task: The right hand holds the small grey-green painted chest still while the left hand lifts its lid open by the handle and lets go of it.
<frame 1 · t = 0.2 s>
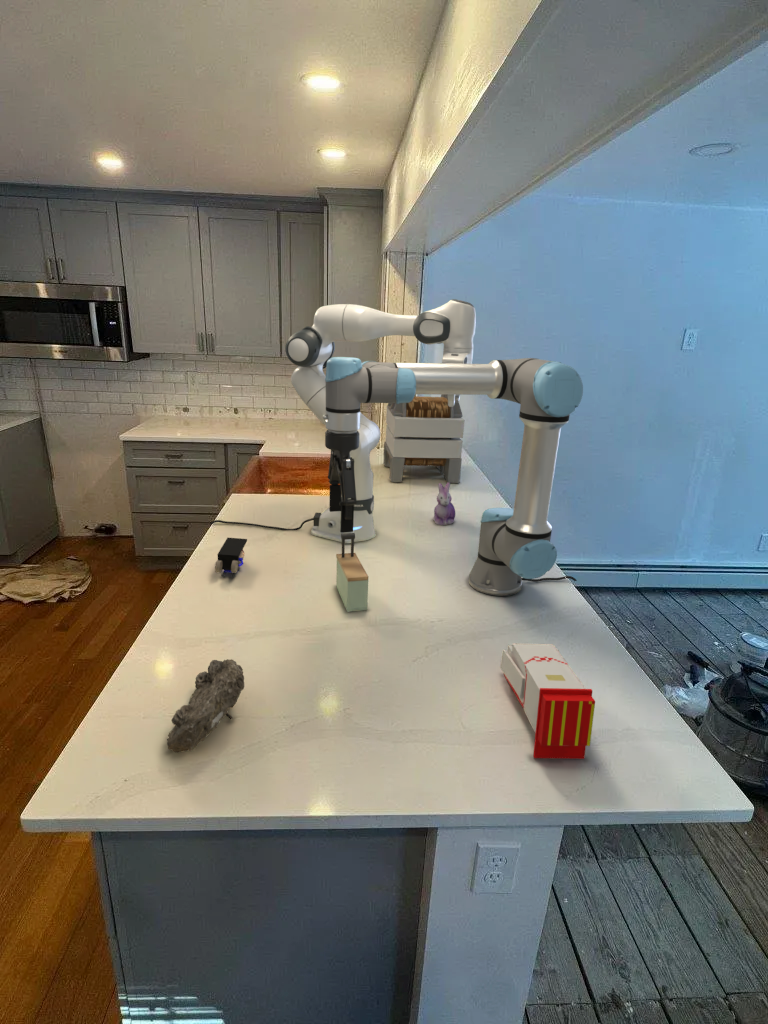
left hand: (453, 404, 174), 48 cm above the counter, tool pointing down, fingers open, 8 cm apart
right hand: (340, 520, 131), 28 cm above the counter, tool pointing down, fingers open, 13 cm apart
toy: (536, 709, 114), on the counter
transformer: (419, 473, 275), on the counter
fossil: (212, 717, 108), on the counter
figurine character: (232, 569, 168), on the counter
figurine: (443, 521, 213), on the counter
chest: (351, 597, 155), on the counter
lid: (351, 554, 151), point 13 cm above the counter, hinge at 0.0°
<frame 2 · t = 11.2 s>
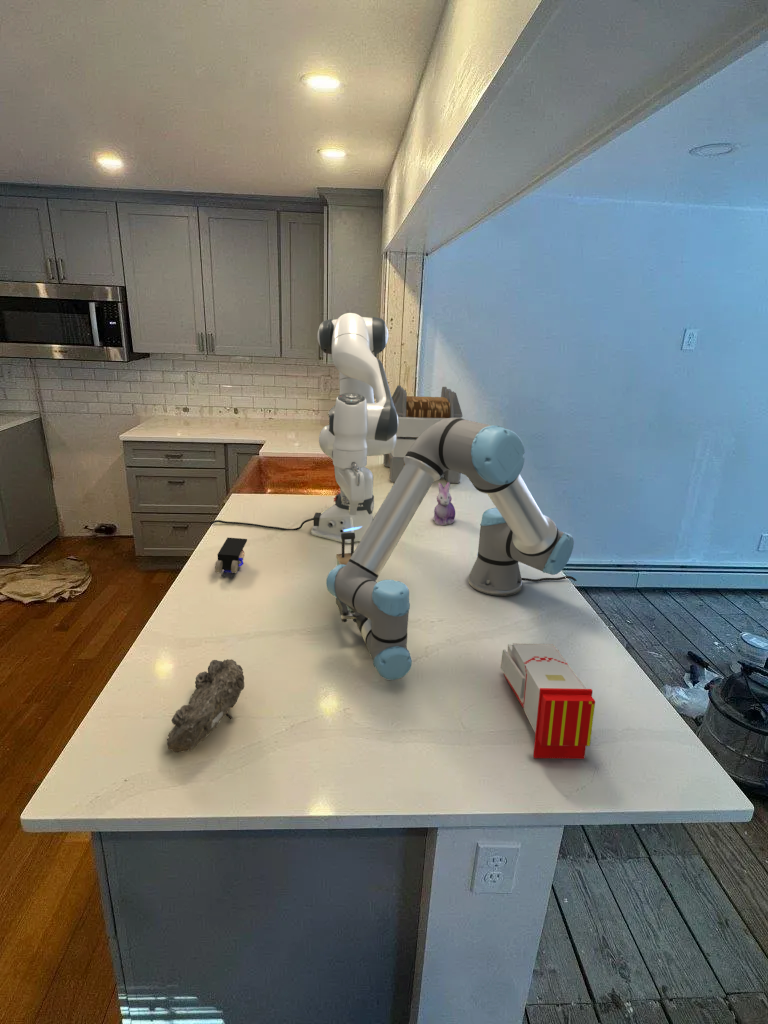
left hand: (348, 508, 152), 24 cm above the counter, tool pointing down, fingers open, 8 cm apart
right hand: (354, 582, 150), 6 cm above the counter, tool horizontal, fingers closed on chest, 5 cm apart
chest: (351, 597, 155), on the counter, touching right hand
everything else where it was.
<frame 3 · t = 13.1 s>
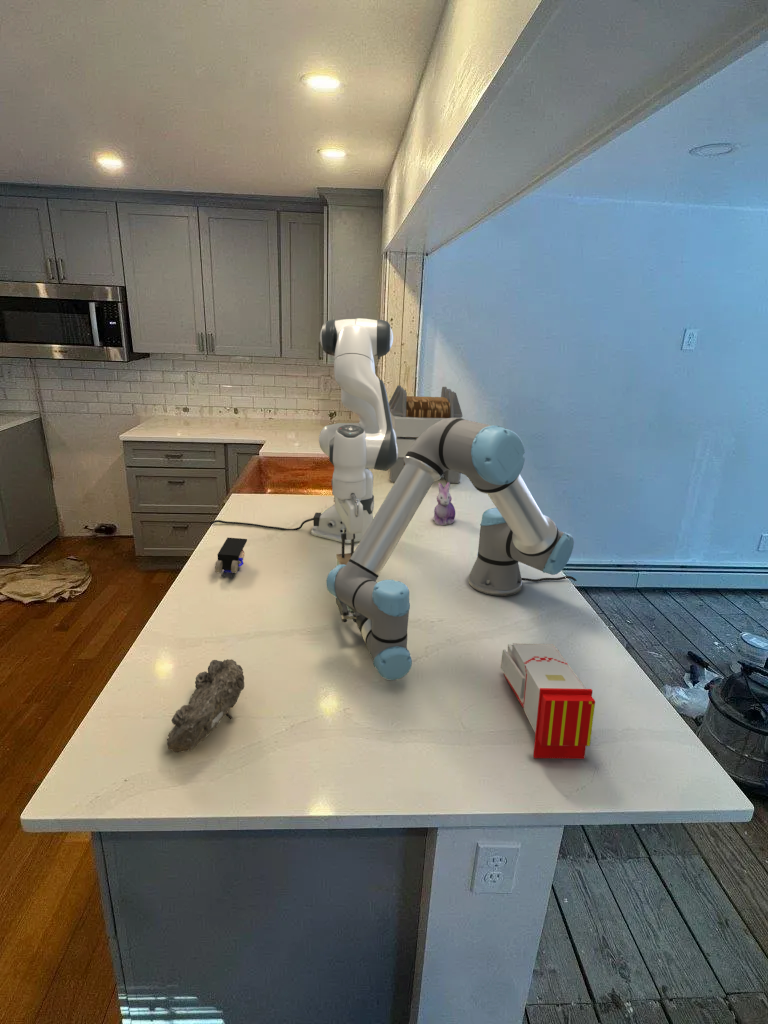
left hand: (347, 536, 154), 16 cm above the counter, tool pointing down, fingers closed on lid, 2 cm apart
right hand: (354, 582, 150), 6 cm above the counter, tool horizontal, fingers closed on chest, 5 cm apart
chest: (351, 597, 155), on the counter, touching right hand
lid: (351, 554, 151), point 13 cm above the counter, hinge at -0.2°, touching left hand
everything else where it was.
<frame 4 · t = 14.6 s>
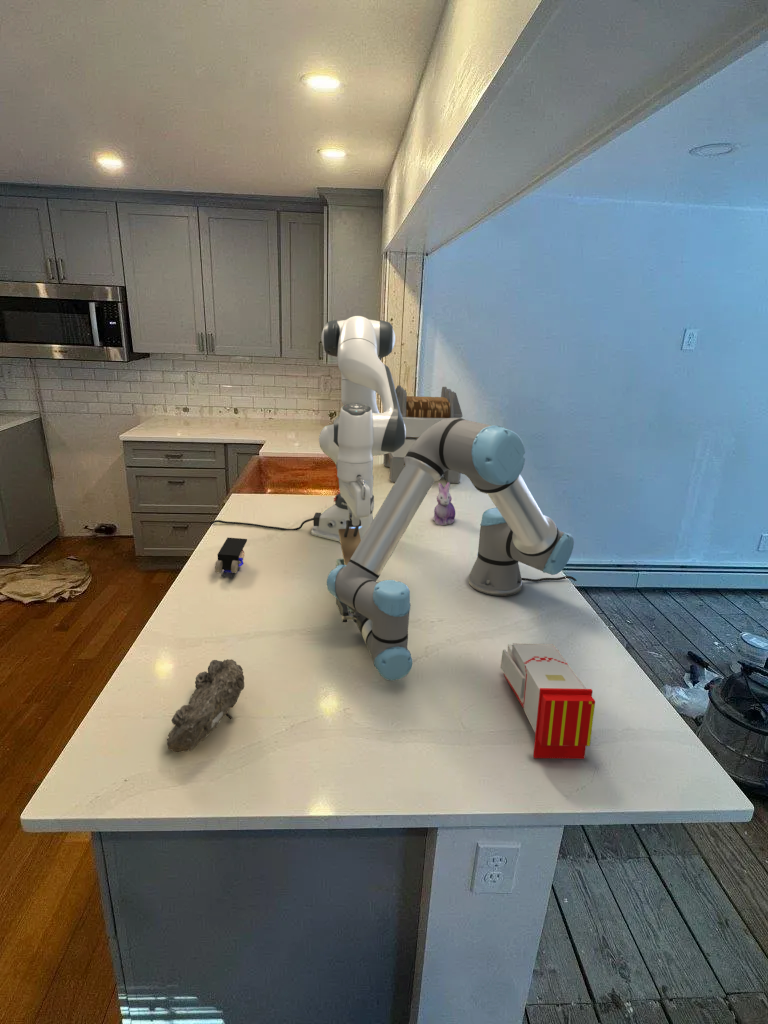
left hand: (353, 522, 146), 23 cm above the counter, tool pointing down, fingers closed
right hand: (354, 582, 150), 6 cm above the counter, tool horizontal, fingers closed on chest, 5 cm apart
chest: (351, 598, 154), on the counter, touching right hand
lid: (355, 546, 146), point 17 cm above the counter, hinge at 35.7°, touching left hand
everything else where it was.
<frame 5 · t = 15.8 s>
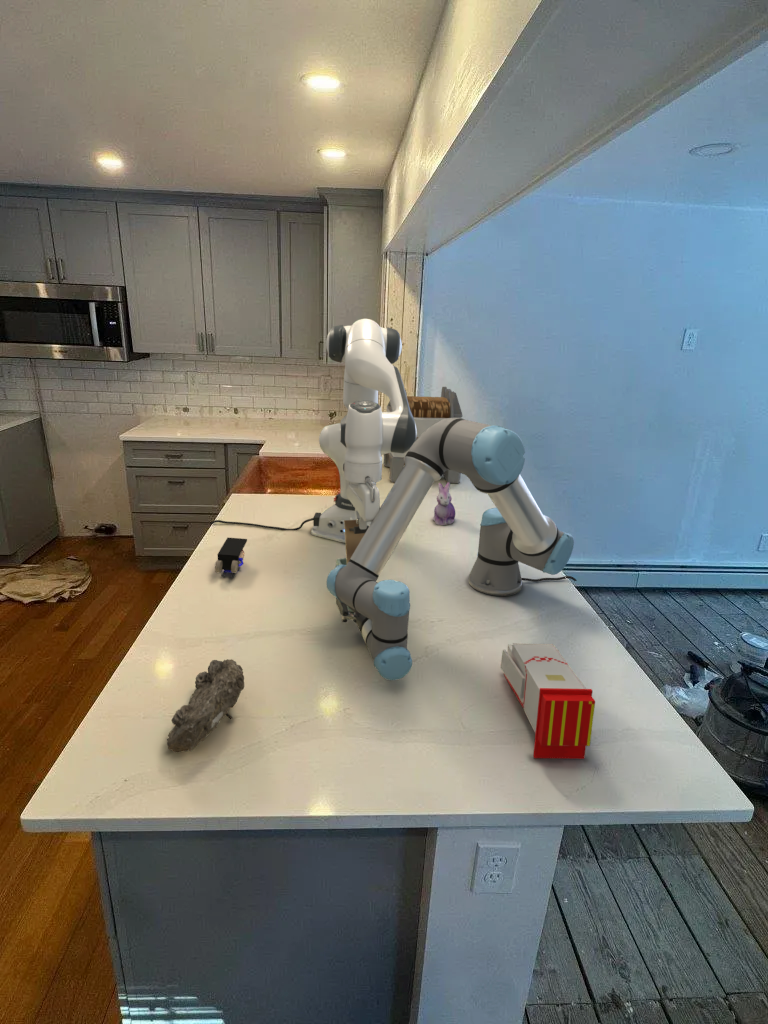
left hand: (361, 526, 138), 24 cm above the counter, tool pointing down, fingers closed, pressing on lid
right hand: (354, 582, 150), 6 cm above the counter, tool horizontal, fingers closed on chest, 5 cm apart
chest: (350, 598, 155), on the counter, touching right hand
lid: (359, 550, 141), point 18 cm above the counter, hinge at 69.9°, touching left hand
everything else where it was.
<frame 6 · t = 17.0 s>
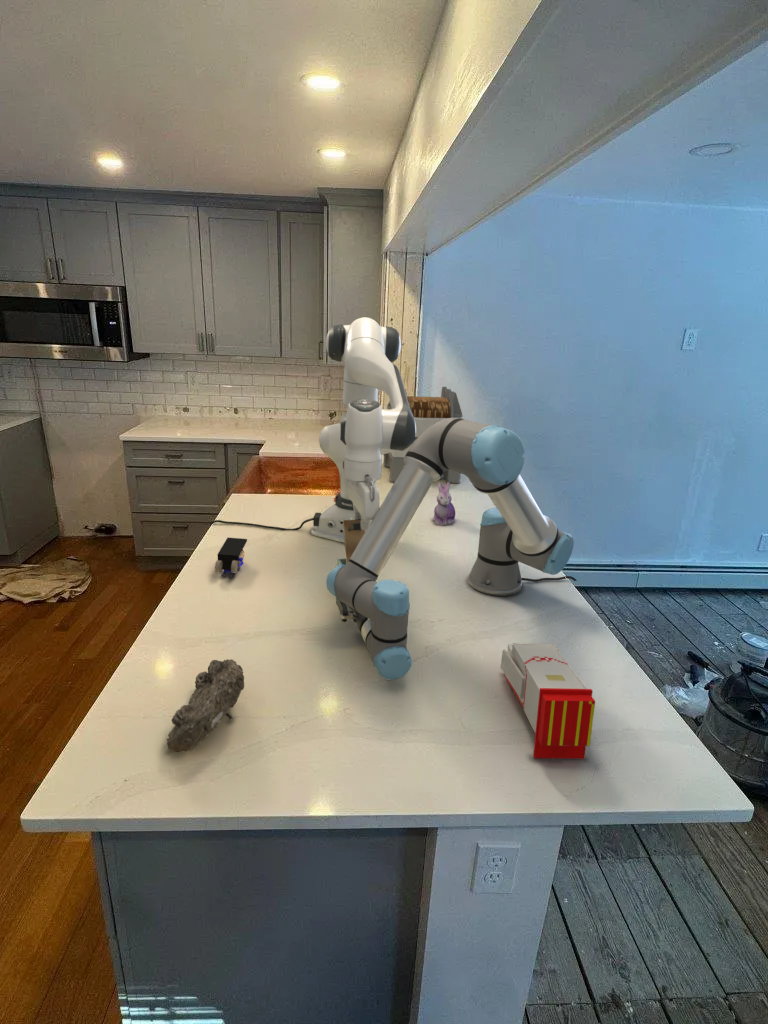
left hand: (361, 524, 139), 25 cm above the counter, tool pointing down, fingers open, 5 cm apart
right hand: (354, 582, 150), 6 cm above the counter, tool horizontal, fingers closed on chest, 5 cm apart
chest: (350, 597, 155), on the counter, touching right hand
lid: (358, 548, 142), point 18 cm above the counter, hinge at 62.6°
everything else where it was.
when the right hand's fingers open (6 cm above the counter, at t = 20.0 s): chest stays where it is, on the counter.
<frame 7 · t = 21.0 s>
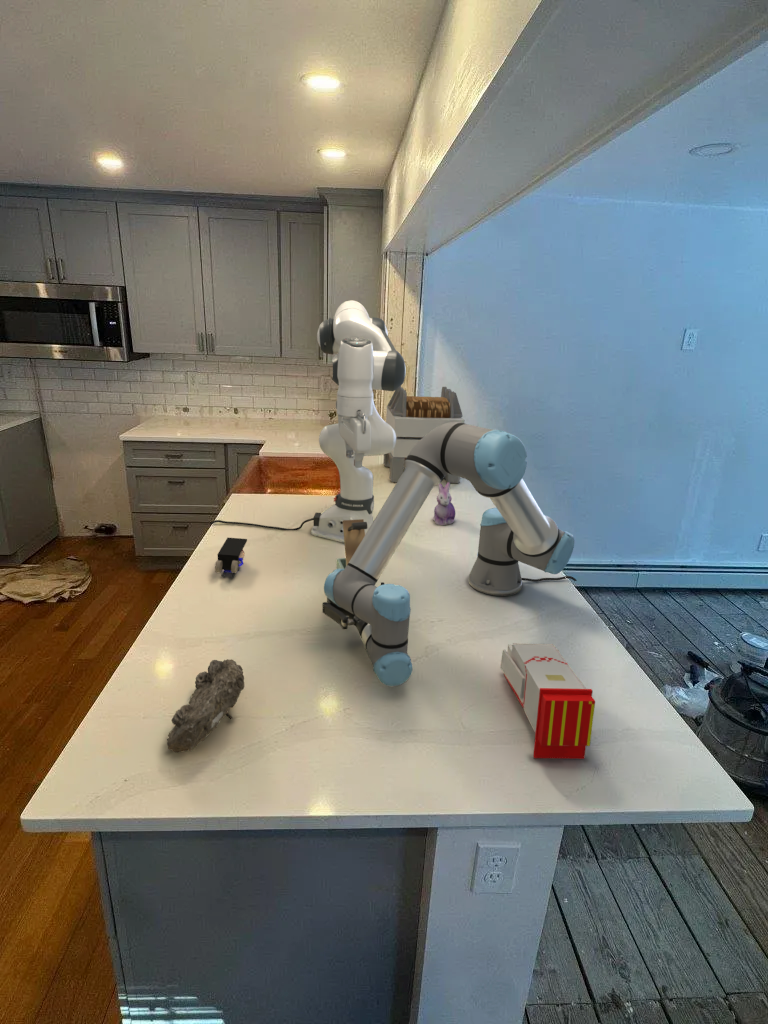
left hand: (353, 462, 143), 38 cm above the counter, tool pointing down, fingers open, 8 cm apart
right hand: (356, 589, 146), 6 cm above the counter, tool horizontal, fingers open, 13 cm apart
chest: (351, 597, 155), on the counter
lid: (358, 548, 143), point 18 cm above the counter, hinge at 61.4°
everything else where it was.
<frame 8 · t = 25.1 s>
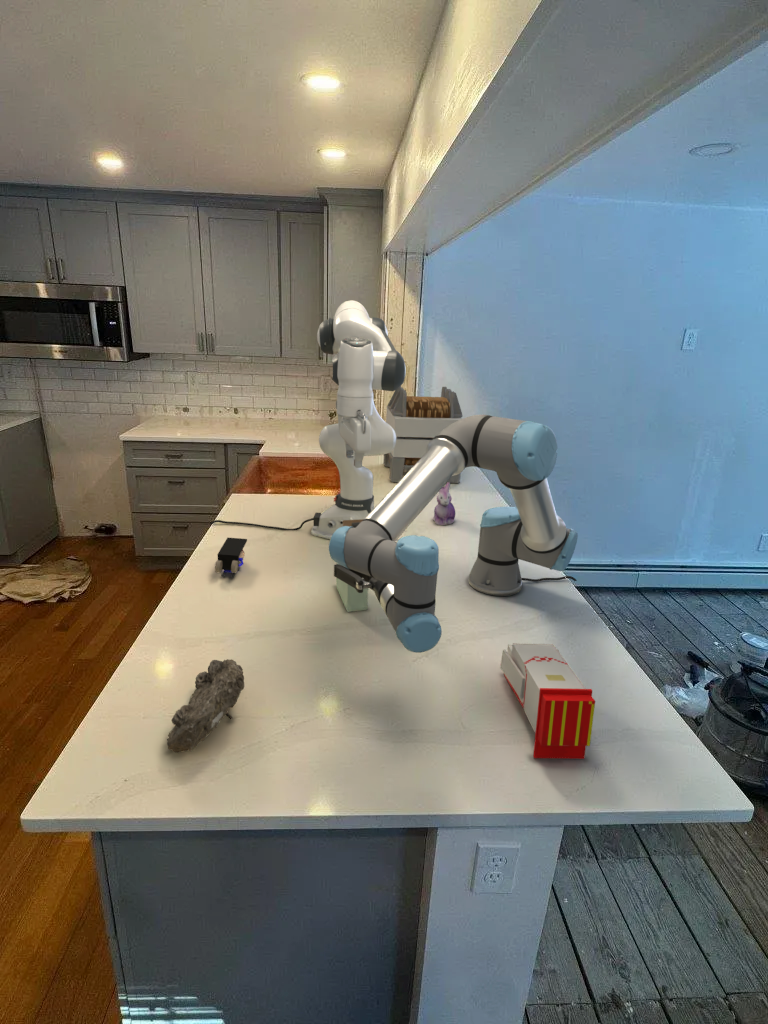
left hand: (353, 462, 143), 38 cm above the counter, tool pointing down, fingers open, 8 cm apart
right hand: (370, 552, 131), 22 cm above the counter, tool horizontal, fingers open, 13 cm apart
nothing on the counter moved.
at the end: lid at +61° (first picture: +0°); the left hand is holding nothing; the right hand is holding nothing; chest tilted 0°; chest never tilted more than 1° during the clip; chest moved 0.0 cm from its start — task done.
